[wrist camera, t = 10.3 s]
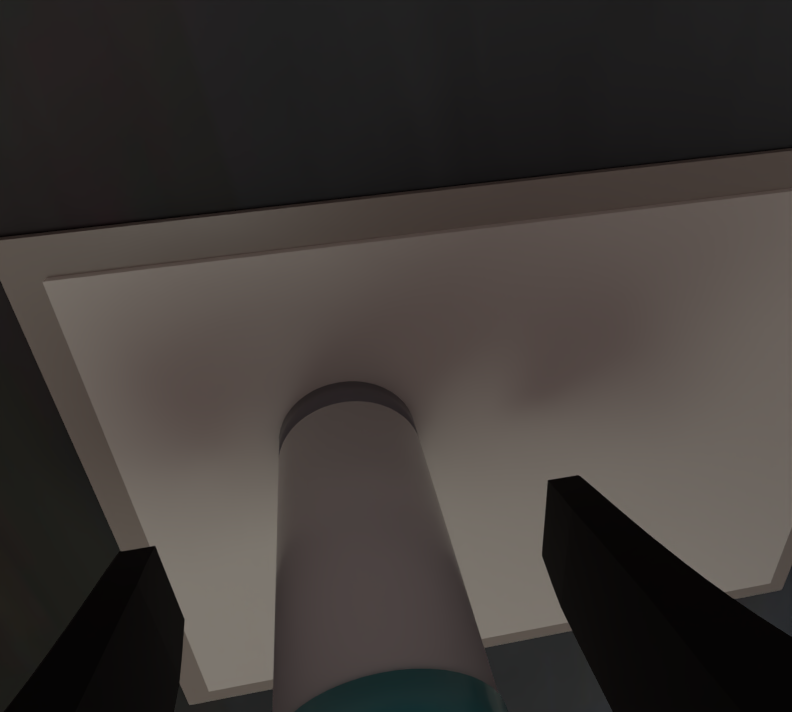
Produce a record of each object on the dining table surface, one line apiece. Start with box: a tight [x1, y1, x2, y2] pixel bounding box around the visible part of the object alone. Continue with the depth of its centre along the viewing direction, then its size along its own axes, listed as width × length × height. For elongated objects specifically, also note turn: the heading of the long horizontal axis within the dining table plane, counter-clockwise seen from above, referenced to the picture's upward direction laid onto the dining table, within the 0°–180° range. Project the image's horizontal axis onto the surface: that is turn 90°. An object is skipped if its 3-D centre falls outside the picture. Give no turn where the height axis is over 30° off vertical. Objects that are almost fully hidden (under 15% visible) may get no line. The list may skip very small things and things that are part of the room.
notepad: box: [0, 148, 792, 705], centre depth 15 cm, size 20×15×1 cm
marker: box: [273, 381, 508, 712], centre depth 10 cm, size 3×3×8 cm
